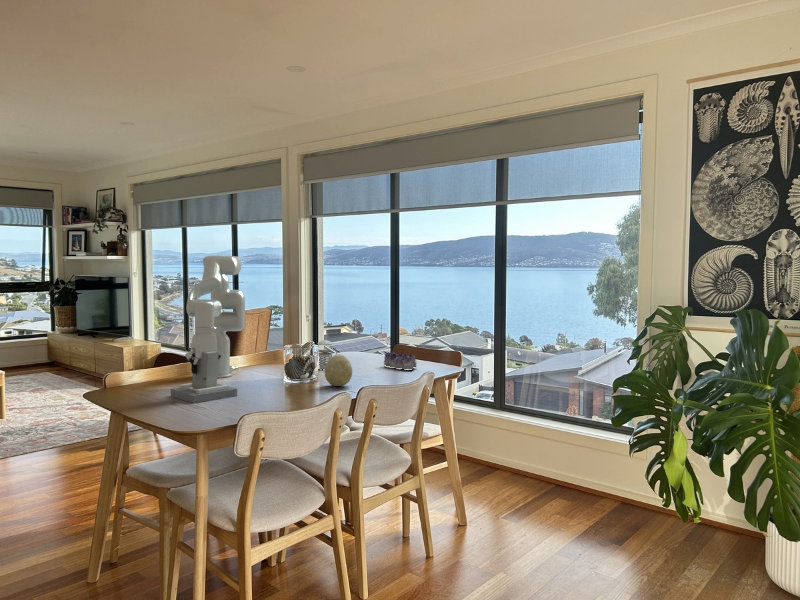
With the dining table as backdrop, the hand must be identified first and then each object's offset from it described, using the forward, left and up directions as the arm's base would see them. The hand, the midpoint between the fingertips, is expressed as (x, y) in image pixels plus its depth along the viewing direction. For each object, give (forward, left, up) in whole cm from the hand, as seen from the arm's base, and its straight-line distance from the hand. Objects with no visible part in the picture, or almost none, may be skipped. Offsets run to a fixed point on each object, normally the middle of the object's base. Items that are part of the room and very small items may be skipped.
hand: (204, 372), depth 258 cm
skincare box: (-1, 0, -7) cm, 7 cm away
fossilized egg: (-55, +23, -10) cm, 60 cm away
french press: (-83, -16, -10) cm, 85 cm away
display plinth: (0, 0, -10) cm, 10 cm away
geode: (-113, +10, -10) cm, 114 cm away
